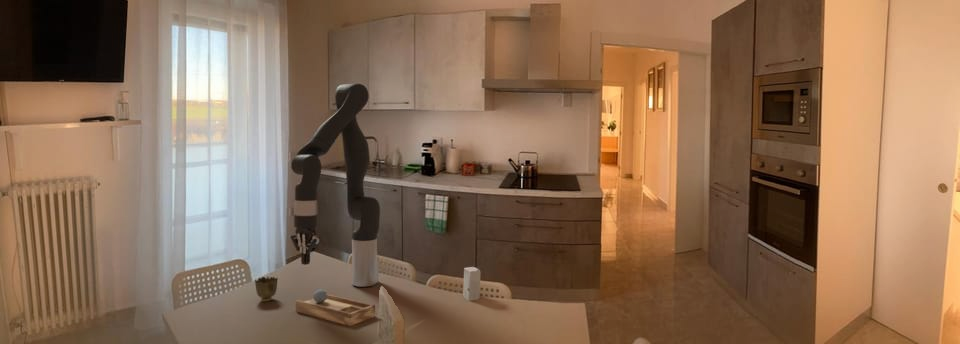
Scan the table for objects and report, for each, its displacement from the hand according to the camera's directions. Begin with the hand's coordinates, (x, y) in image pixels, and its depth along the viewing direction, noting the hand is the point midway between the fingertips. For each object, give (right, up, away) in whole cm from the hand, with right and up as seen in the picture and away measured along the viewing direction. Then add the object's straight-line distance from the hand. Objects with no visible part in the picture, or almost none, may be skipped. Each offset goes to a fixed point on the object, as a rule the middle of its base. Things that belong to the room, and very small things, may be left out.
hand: (305, 264), depth 184 cm
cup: (-16, -14, +6) cm, 22 cm away
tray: (+12, -15, -6) cm, 20 cm away
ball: (+6, -10, -3) cm, 12 cm away
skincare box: (+56, -15, +8) cm, 59 cm away
